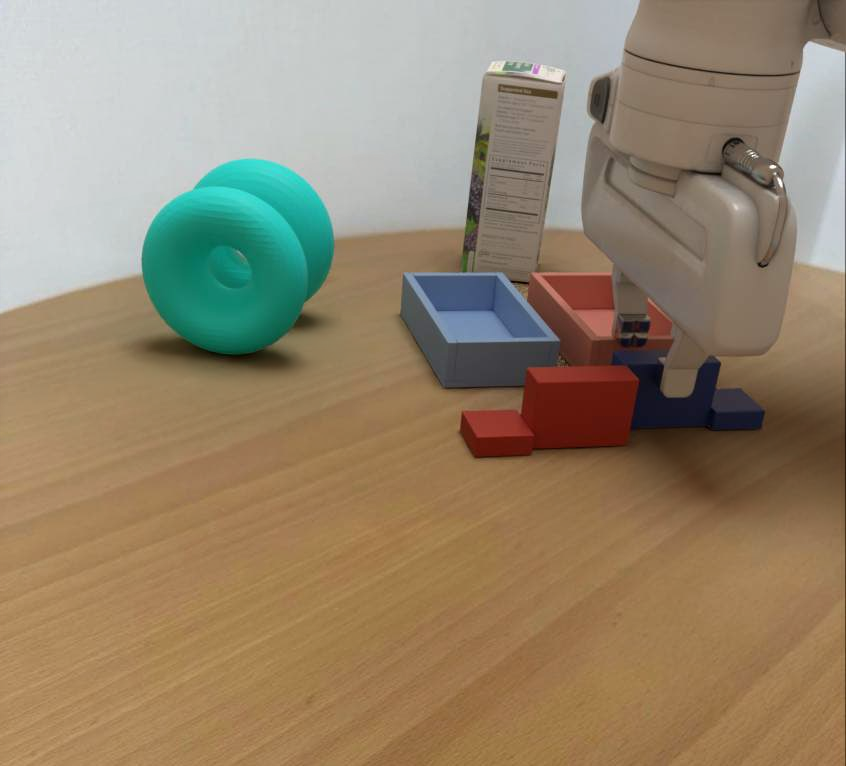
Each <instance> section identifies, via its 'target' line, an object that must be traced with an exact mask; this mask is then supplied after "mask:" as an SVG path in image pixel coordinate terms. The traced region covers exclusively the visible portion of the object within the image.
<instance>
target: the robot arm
mask: <svg viewBox="0 0 846 766" xmlns="http://www.w3.org/2000/svg"><path fill="white" fill-rule="evenodd" d="M809 42H810V43H813V44H816V45H820V46H823V47H825V48H829V49H832V50H835V51H839V52H842V53H845V54H846V0H639V1H638V6H637V10H636V13H635V15H634V18H633V20H632V22H631V24H630V27H629V28H628V30H627V34H626V36H625V40H624V45H623V50H622V56H621V63H620V65H619V66H617V67H616V68H614V69H613V70H610V71H607V72H605V73H602V74H598V75H596V76H594V77H593V78H592V79H591V81H590V84H589V87H588V93H587V100H586V113H587V115H588V117H590V119H592V120H593V122H594V123H593V125H592V126H591V128H590V132H589V135H588V140H587V146H586V154H585V163H584V171H583V172H584V173H583V180H582V181H583V182H582V191H581V201H580V203H581V205H580V212H581V223H582V229H583V234H584V236H585V237H586V238H587V239H588V240H589V241H590V242H591V243H592V244H593V245H594V246H595V247H597V249H598V250H599V251H600V252H601V253H603V254H604V256H605V257H606V258H607V259H608V260H610V262H612V264H613V265H612V271H611V272H612V276H611V277H612V288H613V299H614V309H615V314H614V320H613V325H612V331H611V333H612V336H613V337H614V338H615V339H616V341H617V342H618V343H619V344H620V345H621V346H623V347H625V348H629V347H642V346H644V345H645V344H646V342H647V339H648V332H649V330H650V325H651V319H650V318H649V317H648V315H647V304H648V298H649V299H650V300H651V301H652V302H653V303H654V304H655V305H656V306H657V307H658V308H659V309H660V310H661V311H662V312H663V313H664V314H665V315H666V316H667V317H668V318H669V319H670V320H671V321H672V322H673V323H672V328H671V333H670V335H671V337H672V338H673V339H674V342H673V344H672V346H671V349H670V351H669V353H668V355H667V357H659V358H658V362H657V367H656V375H655V377H654V383H655V385H656V386H657V387H658V388H659V390H660V391H661V392H662V393H663V394H664V395H665V396H666V397H668V398H685V397H688V396H689V395H691V394H692V392H693V390H694V386H695V382H696V377H697V373H698V369H699V368H700V367H701V366H702V365H703V363H704V362H705V361H706V359H707V358H708V357H709V355H710V356H715V357H730V358H732V357H735V358H737V357H738V358H739V357H743V358H744V357H760V356H763V355H765V354H767V352H769V350H770V349H772V348H773V346H774V345H775V344H776V342H777V341H778V339H779V337H780V334H781V331H782V327H783V322H784V319H785V318H784V317H785V312H786V308H787V303H788V297H789V292H790V287H791V280H792V275H793V270H794V269H793V268H794V263H795V262H794V261H795V256H796V250H797V249H796V248H797V237H798V222H797V214H796V211H795V208H794V206H793V204H792V201H791V197H790V196H789V195H788V194H787V187H786V185H785V182H784V178H785V171H784V170H783V167H782V166H781V165H780V164H779V162H780V158H781V155H782V150H783V146H784V142H785V137H786V133H787V129H788V125H789V122H790V116H791V113H792V108H793V104H794V100H795V96H796V92H797V88H798V84H799V79H800V76H801V71H802V68H803V63H804V49H805V47H806V45H807V44H808V43H809Z"/></svg>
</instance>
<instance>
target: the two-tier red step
mask: <svg viewBox="0 0 846 766" xmlns="http://www.w3.org/2000/svg"><path fill="white" fill-rule="evenodd" d="M638 385H639V379H638V378H637V377H636V376H635V375H634V374H633V372H632V371H631V370H630V369H629V368H628V367H627V366H626V365H619V366H573V367H571V366H557V367H528V368H527V371H526V379H525V386H523V387H524V388H523V394H522V401H521V408H520V409H521V410H520V412H519V410H518V409H489V410H488V409H487V410H486V409H485V410H484V409H483V410H462V411H461V414H460V425H459V431H460V433H461V435H462V436H463V438H464V441H465V442H466V444H467V445H468V448H469V449H470V450H471V452H472V454H473V456H474V457H475V458H481V457H507V456H508V457H509V456H510V457H511V456H529V455H530V456H531V455H532V453H533V450H541V449H543V450H544V449H564V448H566V449H570V448H590V447H594V448H595V447H618V446H621V447H622V446H627V445H628V441H629V437H630V432H631V429H630V426H631V421H632V416H633V411H634V406H635V400H636V395H637V390H638Z"/></svg>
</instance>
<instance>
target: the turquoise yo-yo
mask: <svg viewBox="0 0 846 766" xmlns="http://www.w3.org/2000/svg"><path fill="white" fill-rule="evenodd" d="M141 249H142V250H141V273H142V274H141V275H142V278H143V279H142V280H143V283H144V286H145V290H146V293H147V295H148V298H149V299H150V302H151V304H152V306H153V307H154V309H155V310H156V312H157V314H158V315H159V316H160V318H161V319H162V320H163V321H164V323H165V324H166V325H167V326H168V327H169V328H170V329H171V330H172V331H173V332H175V333H176V334H177V335H178V336H180V337H181V338H183V340H185V341H187V342H188V343H191V344H192V345H194V346H196V347H198V348H201V349H203V350H205V351H208V352H212V353H216V354H222V355H232V356H233V355H246V354H251V353H256V352H258V351H261V350H264V349H266V348H268V347H270V346H272V345H273V344H275V343H276V342H278V341H280V339H282V338H283V337H284V336H285V335H287V334H288V332H289V331H290V330H291V329H292V327H293V326H294V325H295V323H296V322H297V320H298V319H299V317H300V315H301V313H302V311H303V308H304V306H305V304H306V303H307V302H308V301H310V300H311V299H312V298H313V297H314V296H315V295H316V294H317V292H318V291H319V290H320V289H321V287H322V286H323V284H324V283H325V281H326V280H327V278H328V275H329V273H330V270H331V269H332V268H331V267H332V265H333V260H334V255H335V254H334V253H335V237H334V228H333V224H332V219H331V217H330V214H329V211H328V209H327V207H326V205H325V203H324V202H323V200H322V198H321V197H320V195H319V194H318V193H317V191H316V190H315V189H314V187H313V186H312V185H311V184H310V183H309V182H308V181H307V180H306V179H304V178H303V177H302V176H301V175H300V174H298V173H296V172H295V171H294V170H292V169H290V168H288V167H287V166H285V165H283V164H280V163H278V162H274V161H271V160H267V159H261V158H240V159H233V160H231V161H226V162H225V163H222V164H219V165H218V166H216V167H215V168H213V169H212V170H210V171H209V172H207V173H206V174H205V175H204V176H202V177H201V179H199V180H198V182H197V183H196V184H195V186H193V188H192V189H191V190H188V191H186V192H183V193H181V194H179V195H177V196H176V197H174V198H173V199H171V200H170V201H169V202H168V203H166V204H165V205H164V206H163V207H162V208H161V209H160V210H159V211H158V212H157V214H156V215H155V216H154V218H153V219H152V221H151V223H150V225H149V227H148V229H147V231H146V234H145V236H144V240H143V244H142V248H141Z"/></svg>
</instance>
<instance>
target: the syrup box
mask: <svg viewBox="0 0 846 766" xmlns="http://www.w3.org/2000/svg"><path fill="white" fill-rule="evenodd" d="M567 74H568V73H567V72H566V71H565V69H561V68H557V67H553V66H549V65H545V64H540V63H535V62H534V63H533V62H527V61H519V60H517V61H516V60H497V61H496V60H493V61H491V63H490V64H489V66H488V68H487V69H486V71H485V73H484V74H483V75H482V80H481V89H480V97H479V105H478V106H479V107H478V114H477V115H478V116H477V124H476V133H475V140H474V149H473V157H472V165H471V166H472V167H471V176H470V183H469V192H468V200H467V201H468V203H467V209H466V219H465V227H464V237H463V244H462V255H461V263H460V269H459V270H460V272H459V273H503V274H504V275H505V276H506V277H507V279H508V280H509V281H512V282H513V281H514V282H522V283H523V282H524V283H529V281H530V274H531V273H538V267H539V261H540V258H541V257H540V256H541V251H542V244H543V239H544V231H545V226H546V225H545V224H546V218H547V211H548V205H549V198H550V191H551V184H552V178H553V171H554V165H555V160H556V159H555V158H556V150H557V144H558V137H559V129H560V122H561V116H562V110H563V104H564V97H565V96H564V95H565V89H566V81H567Z"/></svg>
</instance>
